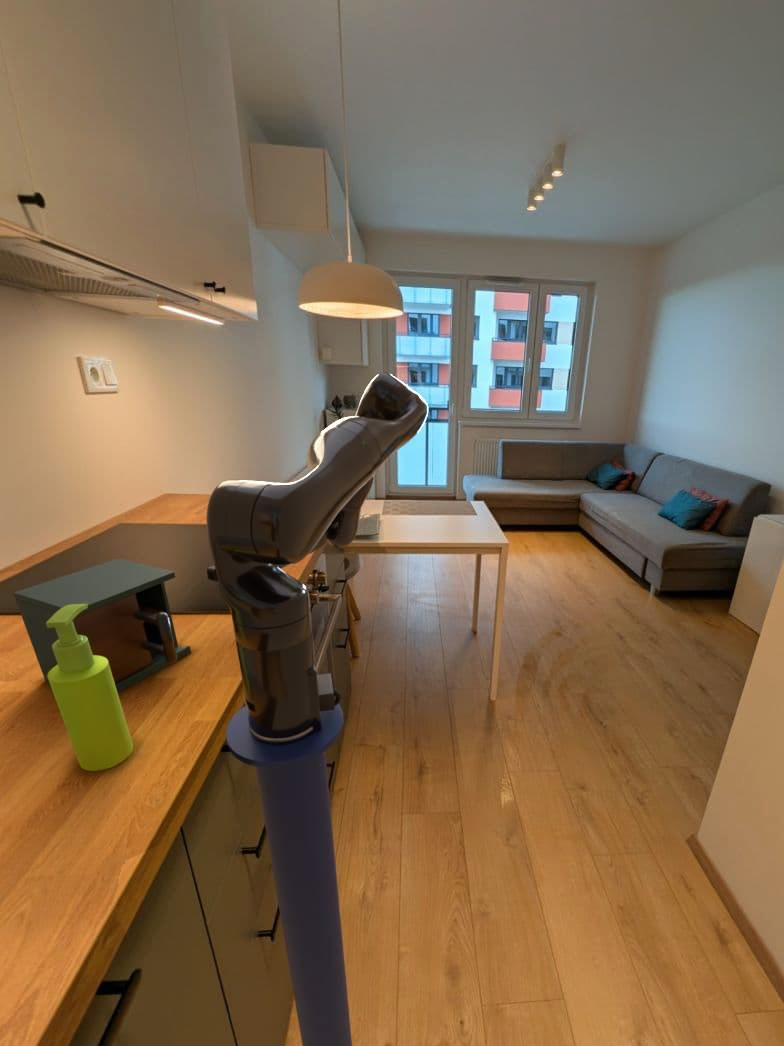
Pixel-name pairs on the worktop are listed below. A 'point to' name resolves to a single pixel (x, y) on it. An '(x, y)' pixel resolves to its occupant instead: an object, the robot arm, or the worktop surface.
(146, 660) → the sliding door
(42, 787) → the worktop surface
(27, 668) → the worktop surface
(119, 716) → the soap dispenser
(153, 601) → the cabinet
